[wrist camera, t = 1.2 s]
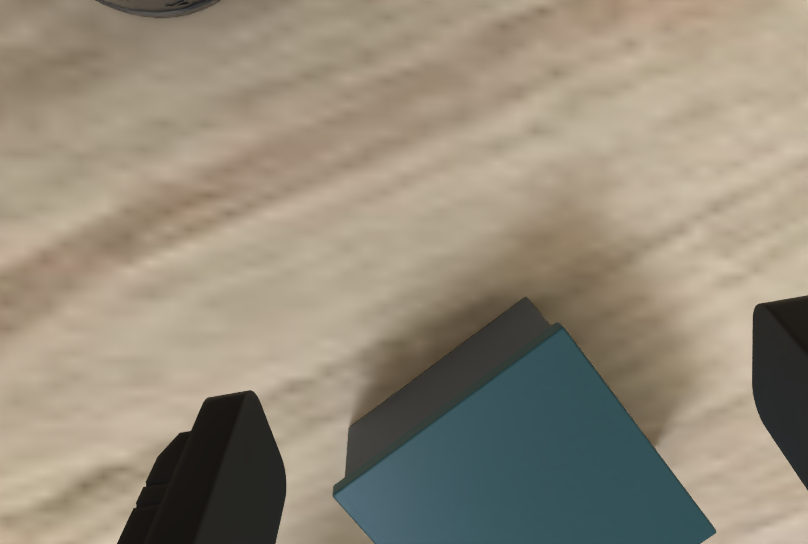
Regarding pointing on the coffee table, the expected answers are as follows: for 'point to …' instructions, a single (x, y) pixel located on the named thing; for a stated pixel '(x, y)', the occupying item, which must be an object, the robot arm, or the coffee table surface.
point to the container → (512, 452)
